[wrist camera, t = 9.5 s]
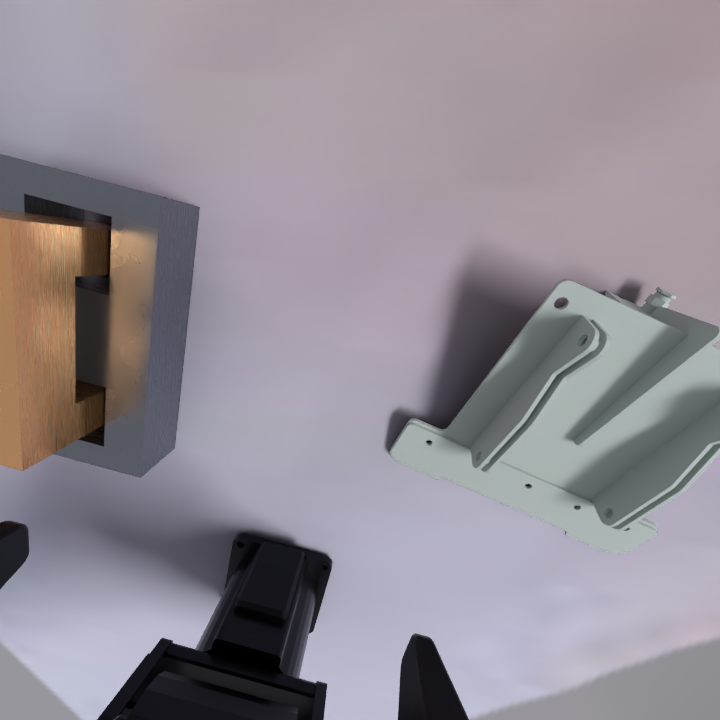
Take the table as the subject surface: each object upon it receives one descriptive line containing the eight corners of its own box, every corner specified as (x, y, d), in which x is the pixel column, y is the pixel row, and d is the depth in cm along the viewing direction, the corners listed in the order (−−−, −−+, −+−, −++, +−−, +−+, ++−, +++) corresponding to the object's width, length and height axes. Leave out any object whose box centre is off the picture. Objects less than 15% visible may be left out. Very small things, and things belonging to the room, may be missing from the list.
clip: (134, 407, 20) (22, 470, 14) (94, 396, 21) (-35, 455, 14) (143, 234, 18) (8, 219, 11) (97, 222, 18) (-63, 200, 11)
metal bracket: (543, 246, 11) (938, 429, 12) (511, 217, 16) (791, 347, 17) (375, 490, 19) (617, 594, 19) (388, 421, 24) (581, 505, 24)
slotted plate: (174, 448, 21) (140, 477, 18) (50, 414, 21) (-4, 438, 18) (199, 207, 17) (160, 196, 14) (45, 166, 17) (-25, 147, 14)
